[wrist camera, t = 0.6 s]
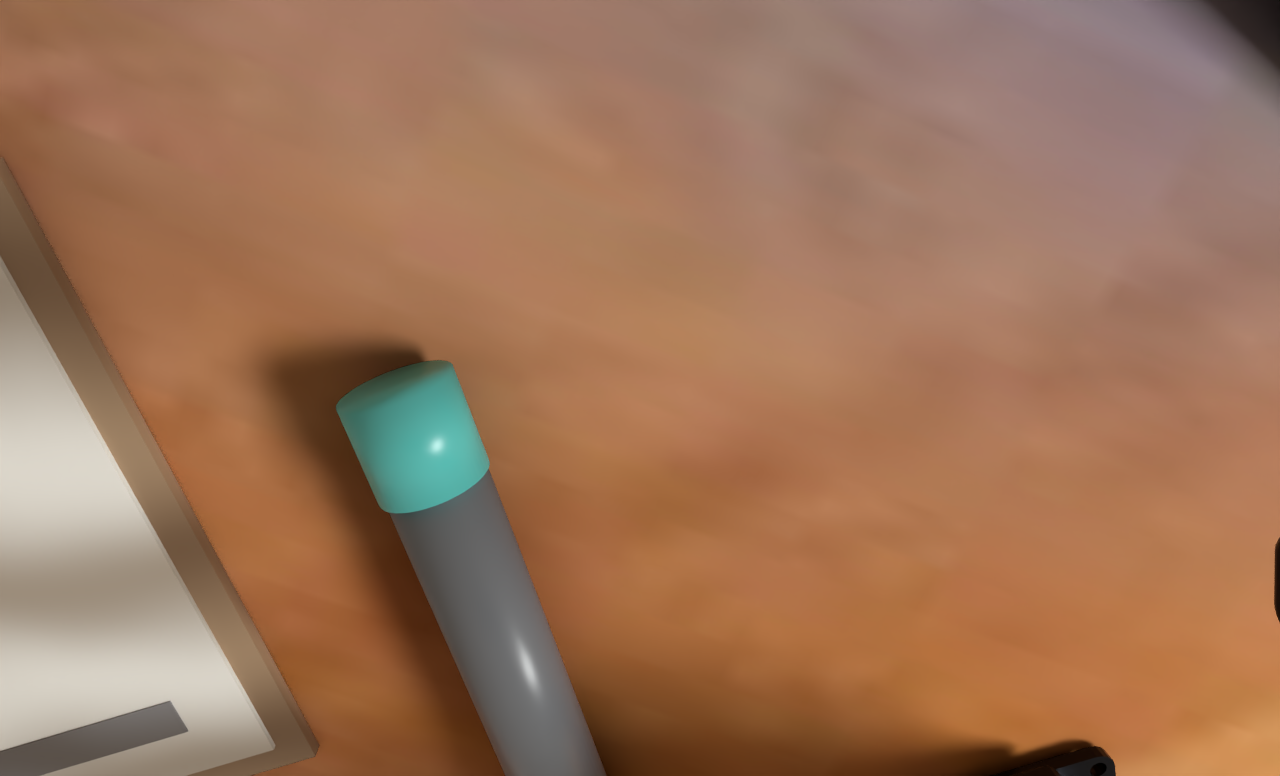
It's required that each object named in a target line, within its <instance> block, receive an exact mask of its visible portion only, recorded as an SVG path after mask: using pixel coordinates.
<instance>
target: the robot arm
mask: <svg viewBox="0 0 1280 776" xmlns="http://www.w3.org/2000/svg"><path fill="white" fill-rule="evenodd" d="M1274 605H1275V610H1276V614H1277V617H1278V620H1279V622H1280V538H1279V539H1278V541H1277V543H1276V546H1275V586H1274ZM993 776H1116V773H1115V764H1114V762H1113V760H1112V759H1111V757H1110V756H1109V755H1108V754H1107V752H1106V751H1105V750H1104V749H1102V748H1101V747H1097V746H1094V747H1088V748H1084V749H1081V750H1078V751H1074V752H1071V753H1067V754H1064V755H1061V756H1057V757H1054V758H1050V759H1047V760H1044V761H1040V762H1037V763H1033V764H1030V765H1027V766H1023V767H1020V768H1016V769H1013V770H1010V771H1006V772H1003V773H999V774H996V775H993Z"/></svg>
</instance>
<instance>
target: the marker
mask: <svg viewBox="0 0 1280 776" xmlns="http://www.w3.org/2000/svg"><path fill="white" fill-rule="evenodd" d="M336 411H337V413H338V415H339V417H340V420H341V422H342V424H343V426H344V428H345V431H346V433H347V435H348V437H349V440H350V442H351V444H352V446H353V449H354V451H355V453H356V455H357V458H358V460H359V462H360V464H361V467H362V469H363V471H364V473H365V476H366V478H367V480H368V482H369V485H370V487H371V489H372V491H373V494H374V496H375V498H376V500H377V503H378V505H379V507H380V508H381V509H382V510H384V511H386V512H389V514H390V516H391V518H392V521H393V523H394V525H395V527H396V530H397V532H398V534H399V536H400V539H401V541H402V543H403V545H404V548H405V550H406V552H407V555H408V557H409V559H410V561H411V564H412V566H413V568H414V570H415V573H416V575H417V577H418V579H419V582H420V584H421V586H422V588H423V591H424V593H425V595H426V597H427V600H428V602H429V604H430V607H431V609H432V611H433V613H434V616H435V618H436V620H437V622H438V625H439V627H440V629H441V631H442V634H443V636H444V638H445V640H446V643H447V645H448V647H449V649H450V652H451V654H452V656H453V659H454V661H455V663H456V665H457V668H458V670H459V672H460V674H461V677H462V679H463V681H464V683H465V686H466V688H467V690H468V692H469V695H470V697H471V699H472V701H473V704H474V706H475V708H476V711H477V713H478V715H479V717H480V720H481V722H482V724H483V726H484V729H485V731H486V733H487V735H488V738H489V740H490V742H491V744H492V747H493V749H494V751H495V753H496V756H497V758H498V760H499V763H500V765H501V767H502V769H503V772H504V774H505V776H607V775H606V772H605V770H604V767H603V765H602V762H601V759H600V757H599V754H598V752H597V749H596V746H595V744H594V741H593V739H592V736H591V733H590V731H589V728H588V726H587V723H586V720H585V718H584V715H583V713H582V710H581V707H580V705H579V702H578V700H577V697H576V694H575V692H574V689H573V687H572V684H571V681H570V679H569V676H568V674H567V671H566V668H565V666H564V663H563V661H562V658H561V655H560V653H559V650H558V648H557V645H556V642H555V640H554V637H553V635H552V632H551V629H550V627H549V624H548V622H547V619H546V617H545V614H544V611H543V609H542V606H541V604H540V601H539V598H538V596H537V593H536V591H535V588H534V585H533V583H532V580H531V578H530V575H529V572H528V570H527V567H526V565H525V562H524V559H523V557H522V554H521V552H520V549H519V546H518V544H517V541H516V539H515V536H514V533H513V531H512V528H511V526H510V523H509V520H508V518H507V515H506V513H505V510H504V507H503V505H502V502H501V500H500V497H499V494H498V492H497V489H496V487H495V484H494V481H493V479H492V476H491V474H490V471H489V459H488V456H487V454H486V451H485V448H484V446H483V443H482V441H481V438H480V435H479V433H478V430H477V427H476V425H475V422H474V420H473V417H472V414H471V412H470V409H469V407H468V404H467V401H466V399H465V396H464V394H463V391H462V388H461V386H460V383H459V381H458V378H457V375H456V373H455V370H454V367H453V365H452V364H451V363H450V362H448V361H442V360H435V361H426V362H420V363H416V364H412V365H408V366H404V367H401V368H398V369H395V370H392V371H390V372H387V373H384V374H382V375H380V376H377V377H375V378H373V379H371V380H369V381H367V382H365V383H363V384H361V385H359V386H358V387H356V388H354V389H353V390H351V391H350V392H349V393H347V394H346V395H345V396H344V397H342V398H341V399H340V401H339V402H338V403H337V405H336Z"/></svg>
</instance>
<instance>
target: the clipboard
mask: <svg viewBox="0 0 1280 776" xmlns="http://www.w3.org/2000/svg"><path fill="white" fill-rule="evenodd" d="M318 748H319V744H318V742H317V740H316V739H315V737H314V735H313V733H312V731H311V729H310V727H309V726H308V724H307V722H306V720H305V718H304V716H303V714H302V713H301V711H300V709H299V707H298V705H297V703H296V701H295V700H294V698H293V696H292V694H291V692H290V690H289V688H288V687H287V685H286V683H285V681H284V679H283V677H282V675H281V674H280V672H279V670H278V668H277V666H276V664H275V662H274V661H273V659H272V657H271V655H270V653H269V651H268V649H267V648H266V646H265V644H264V642H263V640H262V638H261V636H260V635H259V633H258V631H257V629H256V627H255V625H254V623H253V622H252V620H251V618H250V616H249V614H248V612H247V610H246V608H245V607H244V605H243V603H242V601H241V599H240V597H239V595H238V594H237V592H236V590H235V588H234V586H233V584H232V582H231V581H230V579H229V577H228V575H227V573H226V571H225V569H224V568H223V566H222V564H221V562H220V560H219V558H218V556H217V555H216V553H215V551H214V549H213V547H212V545H211V543H210V542H209V540H208V538H207V536H206V534H205V532H204V530H203V529H202V527H201V525H200V523H199V521H198V519H197V517H196V516H195V514H194V512H193V510H192V508H191V506H190V504H189V503H188V501H187V499H186V497H185V495H184V493H183V491H182V490H181V488H180V486H179V484H178V482H177V480H176V478H175V477H174V475H173V473H172V471H171V469H170V467H169V465H168V464H167V462H166V460H165V458H164V456H163V454H162V452H161V451H160V449H159V447H158V445H157V443H156V441H155V439H154V438H153V436H152V434H151V432H150V430H149V428H148V426H147V425H146V423H145V421H144V419H143V417H142V415H141V413H140V412H139V410H138V408H137V406H136V404H135V402H134V400H133V399H132V397H131V395H130V393H129V391H128V389H127V387H126V386H125V384H124V382H123V380H122V378H121V376H120V374H119V373H118V371H117V369H116V367H115V365H114V363H113V361H112V360H111V358H110V356H109V354H108V352H107V350H106V348H105V347H104V345H103V343H102V341H101V339H100V337H99V335H98V334H97V332H96V330H95V328H94V326H93V324H92V322H91V321H90V319H89V317H88V315H87V313H86V311H85V309H84V308H83V306H82V304H81V302H80V300H79V298H78V296H77V294H76V293H75V291H74V289H73V287H72V285H71V283H70V281H69V280H68V278H67V276H66V274H65V272H64V270H63V268H62V267H61V265H60V263H59V261H58V259H57V257H56V255H55V254H54V252H53V250H52V248H51V246H50V244H49V242H48V241H47V239H46V237H45V235H44V233H43V231H42V229H41V228H40V226H39V224H38V222H37V220H36V218H35V216H34V215H33V213H32V211H31V209H30V207H29V205H28V203H27V202H26V200H25V198H24V196H23V194H22V192H21V190H20V189H19V187H18V185H17V183H16V181H15V179H14V177H13V176H12V174H11V172H10V170H9V168H8V166H7V164H6V163H5V161H4V159H3V157H1V158H0V776H251V775H254V774H258V773H261V772H265V771H268V770H271V769H275V768H278V767H282V766H285V765H288V764H292V763H295V762H298V761H302V760H305V759H309V758H312V757H315V756H316V753H317V750H318Z"/></svg>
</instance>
